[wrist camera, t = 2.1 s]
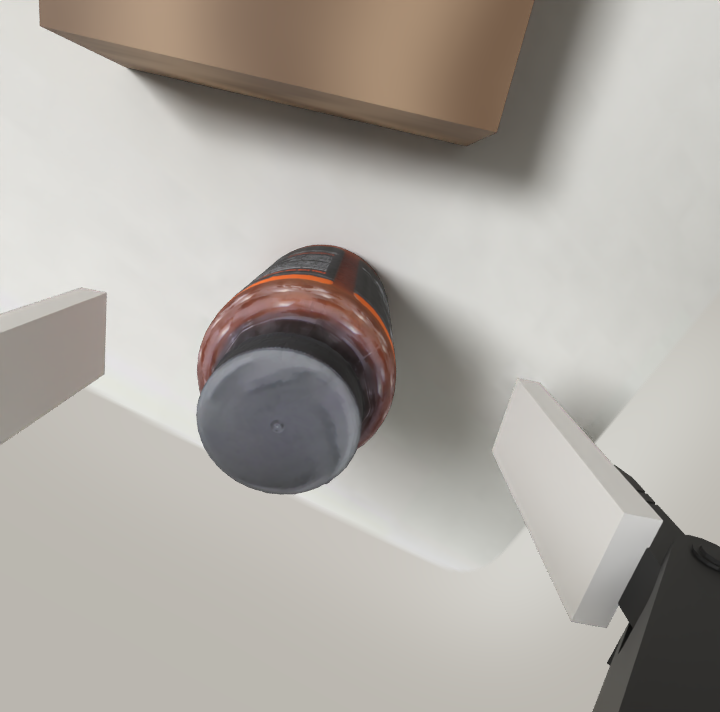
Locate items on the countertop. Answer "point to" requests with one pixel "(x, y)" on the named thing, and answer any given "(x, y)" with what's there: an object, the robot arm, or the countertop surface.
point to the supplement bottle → (297, 371)
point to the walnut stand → (322, 53)
